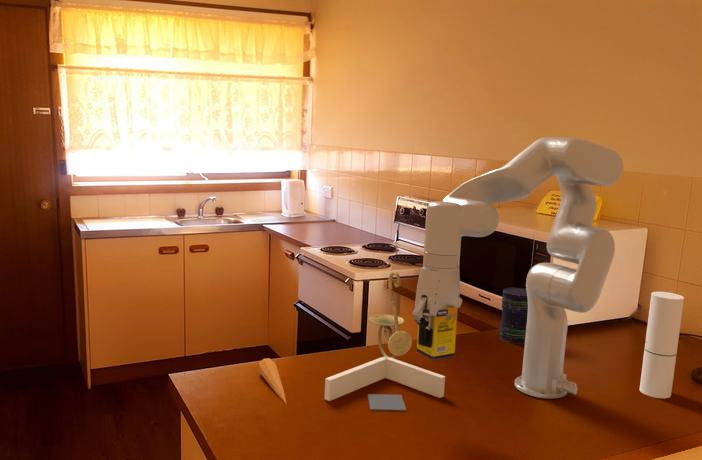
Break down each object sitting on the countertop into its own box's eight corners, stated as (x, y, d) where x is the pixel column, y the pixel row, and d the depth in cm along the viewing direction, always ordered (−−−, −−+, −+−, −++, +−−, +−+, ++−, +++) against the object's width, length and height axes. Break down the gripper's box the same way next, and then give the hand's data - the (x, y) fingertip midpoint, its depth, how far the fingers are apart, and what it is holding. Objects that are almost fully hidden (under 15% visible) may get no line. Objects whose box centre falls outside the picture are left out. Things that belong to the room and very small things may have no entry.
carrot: (260, 374, 162) (254, 360, 160) (276, 367, 163) (270, 352, 161) (280, 416, 144) (274, 400, 142) (298, 407, 145) (292, 391, 143)
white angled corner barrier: (443, 396, 152) (445, 376, 151) (385, 425, 136) (387, 403, 135) (384, 374, 164) (385, 355, 163) (324, 399, 147) (325, 378, 147)
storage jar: (497, 332, 203) (501, 286, 200) (529, 335, 201) (533, 288, 199) (500, 342, 193) (504, 294, 191) (533, 345, 192) (538, 297, 189)
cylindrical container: (668, 389, 163) (681, 293, 159) (672, 400, 156) (686, 300, 152) (638, 384, 165) (650, 290, 161) (640, 395, 158) (653, 296, 154)
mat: (401, 396, 151) (401, 394, 151) (406, 411, 143) (406, 409, 143) (367, 395, 151) (367, 394, 151) (370, 410, 143) (370, 409, 143)
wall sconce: (415, 367, 170) (420, 275, 166) (382, 370, 166) (387, 276, 162) (393, 349, 182) (398, 263, 178) (362, 352, 179) (366, 264, 175)
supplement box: (455, 356, 137) (458, 307, 135) (432, 360, 134) (435, 310, 132) (438, 347, 142) (441, 299, 140) (415, 351, 139) (418, 302, 137)
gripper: (450, 252, 143) (445, 329, 146) (400, 262, 131) (396, 346, 134) (479, 258, 138) (473, 338, 141) (430, 269, 126) (424, 356, 129)
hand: (436, 341), depth 137 cm, fingers closed on supplement box, 7 cm apart
